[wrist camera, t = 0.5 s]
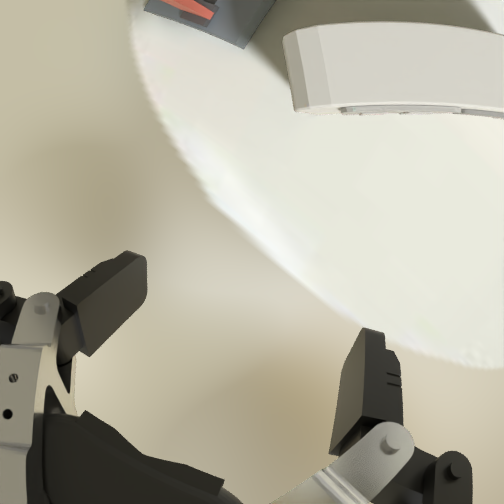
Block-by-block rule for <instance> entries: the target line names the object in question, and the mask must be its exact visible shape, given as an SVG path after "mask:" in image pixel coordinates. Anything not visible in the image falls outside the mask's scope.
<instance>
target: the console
mask: <svg viewBox="0 0 504 504" xmlns="http://www.w3.org/2000/svg"><path fill="white" fill-rule="evenodd" d="M202 1H205V2H208V3H211V4H214V5H216V6H218V7H219V9H218V10H217V12H216V13H215V15H214V17H213V18H212V20H211V21H210V23H209V25H208V26H207V28H206V27H203V26H201V25H198V24H195V23H193V22H190V21H187V20H184V19H182V18H180V16H181V14H182V12H183V10H180V9H178V8H176V7H174V6H172V5H170V4H168V3H165V2H163V1H161V0H149V1H148V3H147V4H146V6H145V8H144V11H147V12H150V13H152V14H155V15H158V16H161V17H164V18H167V19H170V20H173V21H176V22H179V23H182V24H184V25H187V26H190V27H193V28H195V29H198V30H200V31H203V32H205V33H208V34H210V35H213V36H215V37H217V38H220V39H222V40H224V41H227V42H229V43H231V44H233V45H236V46H238V47H240V48H242V49H244V48H245V46H246V45H247V43H248V41H249V40H250V38H251V37H252V35H253V34H254V32H255V30H256V29H257V27H258V26H259V24H260V23H261V21H262V20H263V18H264V17H265V15H266V14H267V12H268V11H269V10H270V8H271V7H272V5H273V4H274V2H275V1H276V0H202Z"/></svg>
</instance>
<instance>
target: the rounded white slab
mask: <svg viewBox="0 0 504 504" xmlns="http://www.w3.org/2000/svg"><path fill="white" fill-rule="evenodd" d="M282 45H283V50H284V55H285V61H286V66H287V72H288V77H289V83H290V89H291V95H292V101H293V107H294V111H295V112H300V113H307V114H313V115H328V114H342V115H354V114H359V115H382V114H388V113H399V114H433V113H452V114H465V115H477V116H487V117H492V118H497V119H504V35H502V34H498V33H493V32H488V31H483V30H478V29H472V28H466V27H459V26H452V25H443V24H433V23H421V22H400V21H367V22H346V23H332V24H322V25H315V26H310V27H305V28H300V29H296V30H294V31H292V32H290V33H288V34H286V35H284V37H283V40H282Z"/></svg>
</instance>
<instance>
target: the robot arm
mask: <svg viewBox="0 0 504 504" xmlns="http://www.w3.org/2000/svg"><path fill="white" fill-rule="evenodd" d="M146 295H147V261H146V258H145V257H144V256H142V255H139V254H136V253H133V252H131V251H124V252H123V253H121V254H120V255H118V256H117V257H116V258H114V259H110V260H107V261H104V262H101V263H99V264H98V265H96V266H95V267H93V268H92V269H91V271H88V272H86V273H85V274H83V276H81V277H79V278H78V279H76V280H75V281H74V282H72V283H71V284H70V285H68V286H67V287H66V288H64V289H63V290H61V291H60V292H59V293H57V294H56V295H54V294H53V293H49V292H41V293H37V294H34V295H32V296H31V297H29V298H28V299H25V298H21V297H17V296H15V294H14V291H13V287H12V285H11V284H10V283H9V282H5V281H0V504H243V503H242V502H240V500H239V499H238V498H237V497H235V496H234V495H233V494H232V493H230V492H229V491H227V490H226V489H224V488H223V487H222V486H223V484H224V479H221V478H218V477H216V476H213V475H210V474H208V473H205V472H203V471H200V470H197V469H195V468H193V467H190V466H188V465H185V464H180V463H175V462H171V461H166V460H162V459H157V458H154V457H149V456H146V455H144V454H142V453H141V452H139V451H138V450H137V449H136V448H135V447H134V446H133V445H132V444H131V443H129V442H128V441H127V440H126V439H125V438H124V437H123V436H122V435H121V434H120V433H119V432H118V431H117V430H116V429H115V428H113V427H111V426H110V425H108V424H106V423H105V422H103V421H102V420H100V419H98V418H97V417H95V416H94V415H92V414H91V413H89V412H88V411H86V410H85V411H84V412H83V414H82V415H81V416H80V417H78V416H77V411H76V408H75V402H74V391H75V370H76V357H75V354H76V353H77V352H78V351H80V352H82V353H84V354H85V355H87V356H88V357H90V356H91V355H92V354H93V353H94V352H95V351H96V350H97V349H98V348H99V347H100V346H101V345H102V344H103V343H104V342H105V341H106V340H107V339H108V338H109V337H110V336H111V335H112V334H113V333H114V332H115V331H116V330H117V329H118V328H119V327H120V326H121V325H122V324H123V323H124V322H125V321H126V320H127V319H128V318H129V317H130V316H131V315H132V314H133V313H134V312H135V311H136V310H137V309H138V308H139V307H140V306H141V305H142V304H143V303H144V301H145V299H146ZM400 376H401V370H400V362H399V361H398V359H397V357H396V355H395V353H394V351H391V350H387V349H386V346H385V334H384V333H382V332H379V331H375V330H371V329H368V328H362V329H361V331H360V333H359V335H358V337H357V339H356V341H355V343H354V345H353V347H352V349H351V351H350V353H349V354H348V356H347V358H346V361H345V363H344V366H343V369H342V372H341V379H340V386H339V394H338V401H337V408H336V415H335V421H334V427H333V433H332V438H331V444H330V449H329V454H331V455H336V456H339V457H338V459H337V460H335V461H334V462H333V463H332V464H330V465H329V466H328V467H326V468H325V469H322V470H320V471H318V472H317V473H316V474H314V475H313V476H311V477H310V478H308V479H307V480H306V481H304V482H303V483H301V484H300V485H298V486H297V487H295V488H294V489H292V490H291V491H289V492H288V493H286V494H285V495H283V496H281V497H280V498H278V499H277V500H275V501H273V502H272V503H270V504H368V503H369V502H371V503H374V504H472V494H473V492H472V491H473V490H472V488H473V485H472V467H471V464H470V462H469V460H468V459H467V458H466V457H465V456H464V455H463V454H461V453H459V452H457V451H448V452H445V453H444V454H442V455H441V456H440V457H438V458H437V457H435V456H433V455H431V454H429V453H426V452H424V451H422V450H420V449H418V448H417V447H415V446H414V440H413V437H412V435H411V434H410V432H409V431H408V430H407V429H406V428H405V427H404V426H403V402H402V388H401V386H402V384H401V378H400Z"/></svg>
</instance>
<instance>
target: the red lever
mask: <svg viewBox="0 0 504 504" xmlns="http://www.w3.org/2000/svg"><path fill="white" fill-rule="evenodd" d="M161 1H163V2H165V3H168V4H170V5H172V6H174V7H176V8H178V9H180V10H183V12H182V14H181V16H180V18H182V19H184V20H187V21H190V22H193V23H195V24H198V25H201V26H203V27H206V28H207V26H208V25H209V23H210V21H211V20H212V18H213V17H214V15H215V13H216V12H217V10H218V9H219V7H218V6H216V5H214V4H211V3H208V2H205V1H202V0H161Z"/></svg>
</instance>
